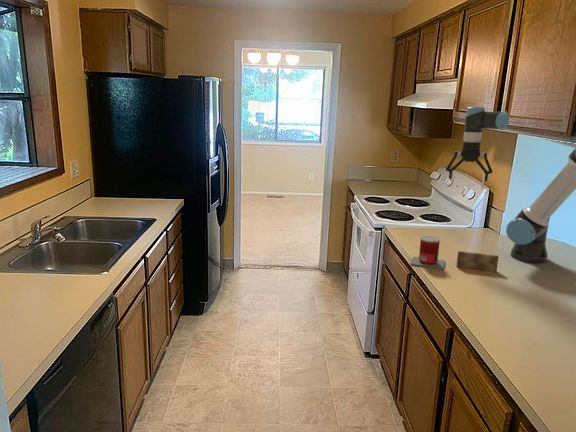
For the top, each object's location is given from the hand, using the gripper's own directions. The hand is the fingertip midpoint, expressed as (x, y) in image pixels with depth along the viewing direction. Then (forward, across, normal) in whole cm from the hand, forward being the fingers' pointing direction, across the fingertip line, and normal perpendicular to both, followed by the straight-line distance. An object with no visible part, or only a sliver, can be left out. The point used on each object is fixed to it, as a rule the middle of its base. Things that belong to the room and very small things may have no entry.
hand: (466, 187), depth 205 cm
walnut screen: (+32, -7, +24) cm, 40 cm away
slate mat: (+32, +13, +25) cm, 42 cm away
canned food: (+31, +13, +25) cm, 42 cm away
